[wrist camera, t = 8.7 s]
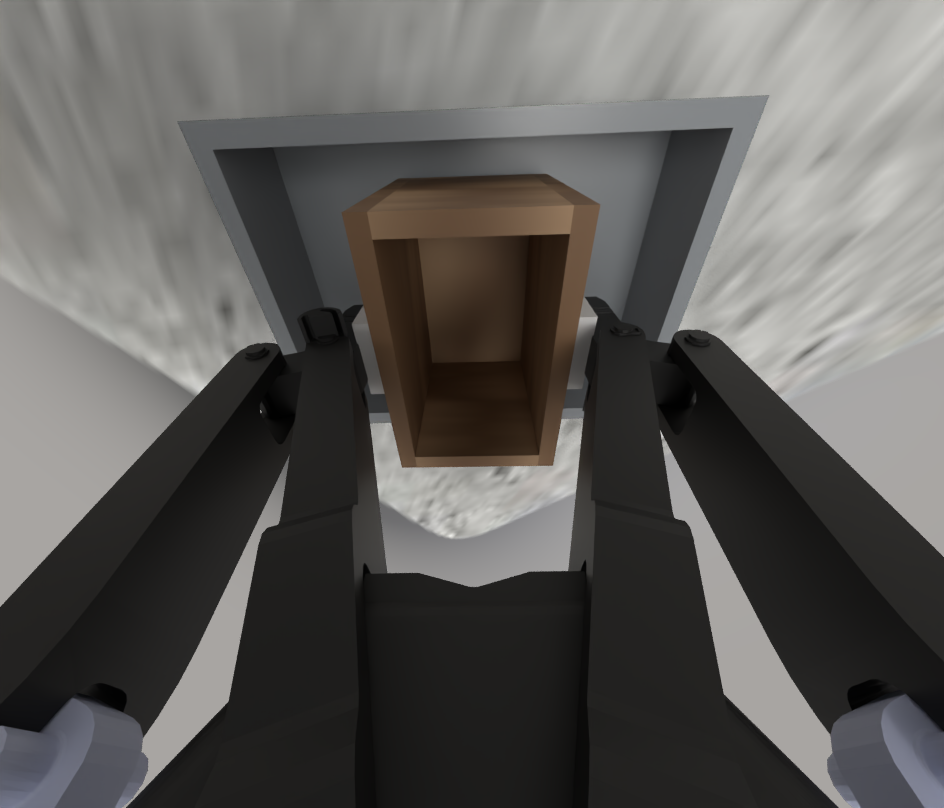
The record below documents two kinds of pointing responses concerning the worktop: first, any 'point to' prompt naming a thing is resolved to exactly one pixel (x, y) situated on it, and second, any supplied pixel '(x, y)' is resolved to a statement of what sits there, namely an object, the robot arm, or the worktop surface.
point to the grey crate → (480, 154)
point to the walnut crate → (473, 311)
